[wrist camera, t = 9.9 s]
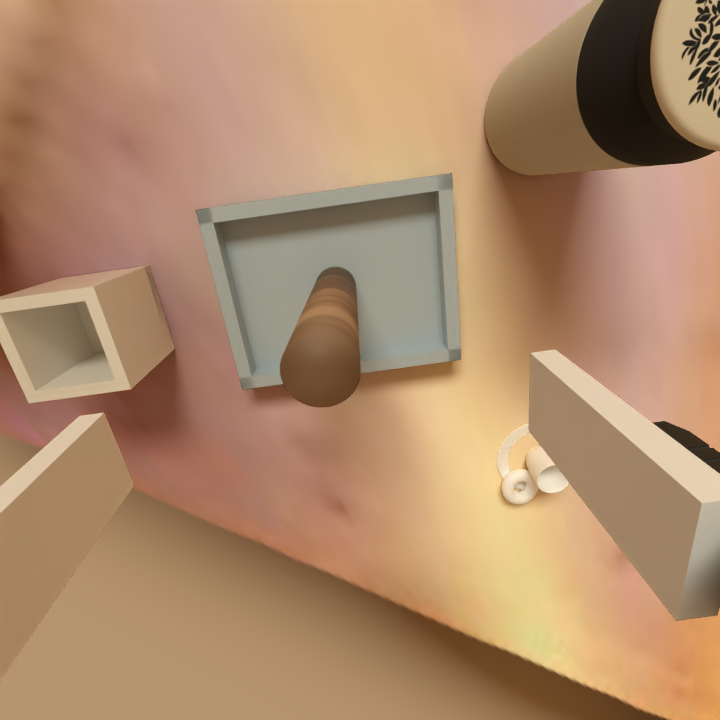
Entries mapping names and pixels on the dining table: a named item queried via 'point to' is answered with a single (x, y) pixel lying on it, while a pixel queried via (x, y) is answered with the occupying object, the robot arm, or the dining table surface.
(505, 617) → the dining table surface
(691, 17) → the travel mug
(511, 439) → the cream curved piece
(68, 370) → the square open box
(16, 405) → the dining table surface
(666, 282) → the dining table surface
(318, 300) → the dowel
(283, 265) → the tray
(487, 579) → the dining table surface
